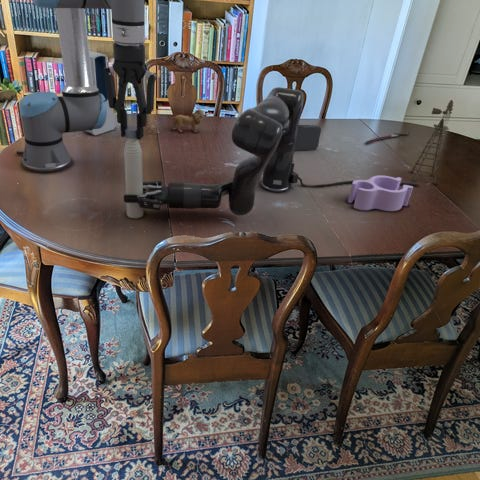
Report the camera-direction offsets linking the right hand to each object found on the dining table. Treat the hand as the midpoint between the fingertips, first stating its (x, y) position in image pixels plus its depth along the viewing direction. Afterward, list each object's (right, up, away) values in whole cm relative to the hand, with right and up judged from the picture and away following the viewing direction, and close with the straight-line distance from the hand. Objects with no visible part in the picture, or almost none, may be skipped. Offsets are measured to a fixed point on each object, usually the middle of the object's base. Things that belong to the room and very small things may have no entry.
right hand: (125, 194), depth 133 cm
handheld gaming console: (+54, +24, +58) cm, 83 cm away
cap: (+4, +16, -10) cm, 19 cm away
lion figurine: (+10, +33, +66) cm, 74 cm away
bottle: (+2, -6, +4) cm, 7 cm away
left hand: (+4, +14, -9) cm, 18 cm away
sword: (+100, +33, +80) cm, 132 cm away
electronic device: (-25, +31, +57) cm, 69 cm away
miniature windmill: (+103, +11, +46) cm, 113 cm away
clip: (+79, -1, +25) cm, 83 cm away
